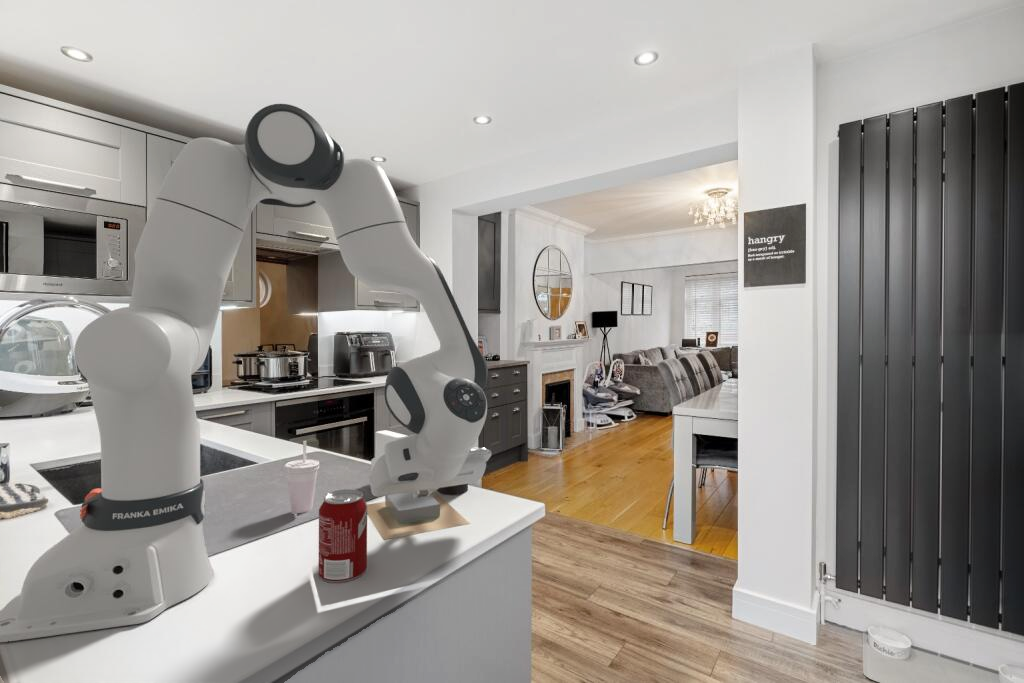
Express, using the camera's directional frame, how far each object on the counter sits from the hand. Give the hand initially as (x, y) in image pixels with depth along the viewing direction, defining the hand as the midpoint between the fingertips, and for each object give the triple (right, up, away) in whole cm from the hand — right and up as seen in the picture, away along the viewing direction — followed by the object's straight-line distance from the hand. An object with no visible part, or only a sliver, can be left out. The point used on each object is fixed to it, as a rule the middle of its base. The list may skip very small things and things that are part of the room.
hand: (420, 493), depth 92 cm
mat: (-2, -6, +4) cm, 7 cm away
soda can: (-8, -6, -19) cm, 22 cm away
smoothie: (-24, -5, +5) cm, 26 cm away
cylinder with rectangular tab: (-11, -5, +23) cm, 26 cm away
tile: (0, -4, 0) cm, 4 cm away
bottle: (+4, -6, +18) cm, 19 cm away
